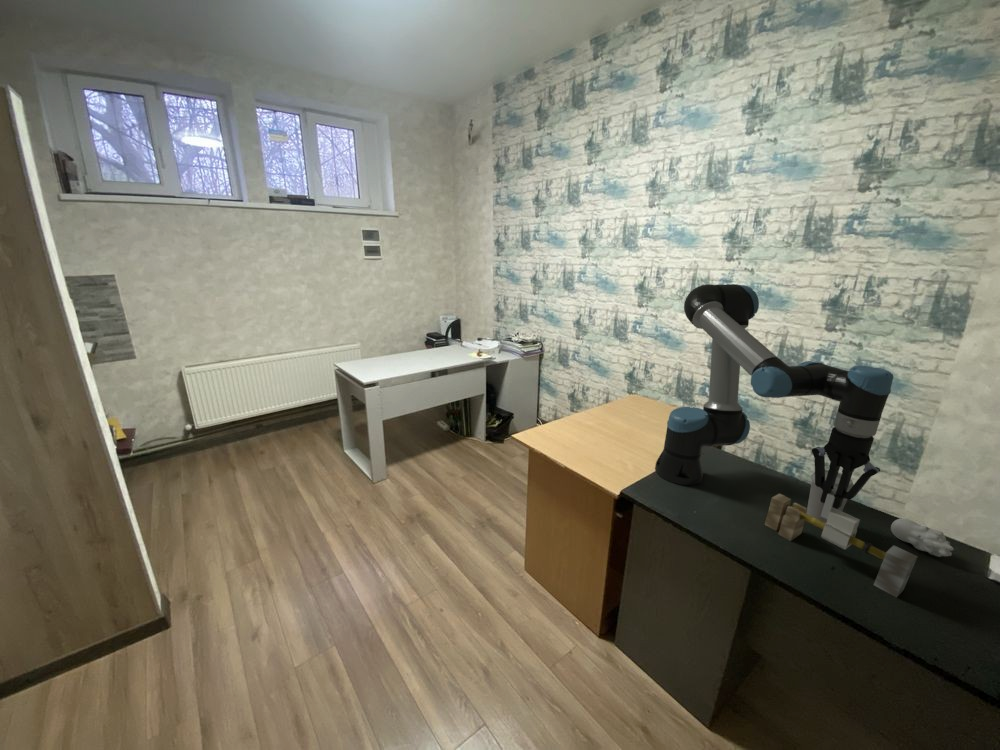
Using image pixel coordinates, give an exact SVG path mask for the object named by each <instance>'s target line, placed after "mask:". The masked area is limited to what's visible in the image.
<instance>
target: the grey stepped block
mask: <svg viewBox="0 0 1000 750" xmlns="http://www.w3.org/2000/svg"><path fill="white" fill-rule="evenodd" d="M860 521H861V519H860V518H857V517H855V516H853V515H851V514H849V513H846V512H844V511H843V510H842V511H840V510H838V509H833V510H832V511H830V513H829V516H828V519H827V522H826V523H825V526H824V529H822V531H821V535H820V538H822V539H823V540H825V541H827V542H829V543H831V544H833V545H834V546H836V547H839V548H840V549H842V550H847V549H848V548H849V547H850V546H852V544H850V543H848V542H849V539H850V537H851V536H853V537H855V538H856V535H857V532H858V527H859V524H860Z"/></svg>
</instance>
